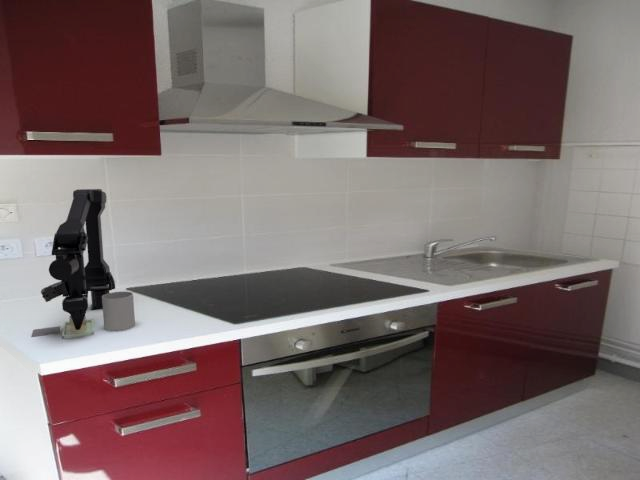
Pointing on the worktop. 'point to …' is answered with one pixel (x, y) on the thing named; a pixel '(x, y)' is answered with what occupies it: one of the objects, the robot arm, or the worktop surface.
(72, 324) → the letter cube
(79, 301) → the robot arm
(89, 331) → the tray
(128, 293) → the cup
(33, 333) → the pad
